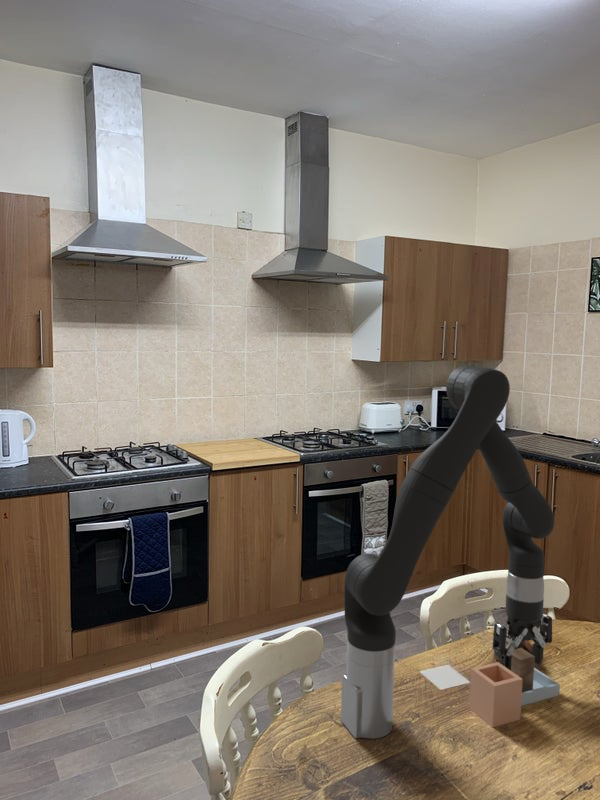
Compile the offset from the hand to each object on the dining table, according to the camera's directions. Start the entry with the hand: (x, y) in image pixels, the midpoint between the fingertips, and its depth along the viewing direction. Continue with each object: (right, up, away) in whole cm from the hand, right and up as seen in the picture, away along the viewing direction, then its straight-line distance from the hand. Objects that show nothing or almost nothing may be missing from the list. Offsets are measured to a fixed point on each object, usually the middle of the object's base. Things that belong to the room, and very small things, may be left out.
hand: (521, 666), depth 132 cm
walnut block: (0, -5, +1) cm, 5 cm away
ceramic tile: (-15, -5, +5) cm, 17 cm away
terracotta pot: (-9, -6, -8) cm, 14 cm away
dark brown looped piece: (+4, -5, +13) cm, 14 cm away
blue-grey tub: (0, -6, +1) cm, 6 cm away
